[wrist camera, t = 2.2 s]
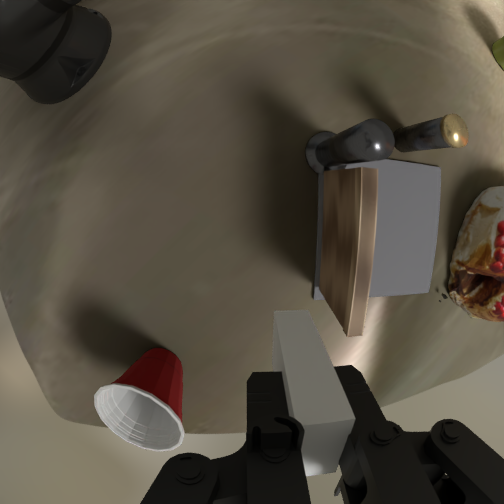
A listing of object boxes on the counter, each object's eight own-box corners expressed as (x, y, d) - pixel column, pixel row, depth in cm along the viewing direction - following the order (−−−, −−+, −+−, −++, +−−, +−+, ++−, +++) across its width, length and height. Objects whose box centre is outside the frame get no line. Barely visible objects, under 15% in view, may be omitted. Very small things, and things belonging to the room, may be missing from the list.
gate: (322, 171, 30) (361, 167, 19) (335, 171, 30) (378, 168, 19) (318, 289, 33) (347, 336, 22) (329, 289, 33) (362, 335, 22)
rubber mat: (318, 153, 30) (319, 153, 29) (439, 167, 30) (440, 167, 30) (313, 298, 34) (313, 300, 34) (427, 291, 34) (428, 292, 34)
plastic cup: (122, 323, 35) (82, 376, 23) (200, 337, 35) (183, 401, 23) (128, 383, 37) (101, 439, 25) (197, 397, 38) (185, 460, 26)
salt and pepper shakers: (304, 115, 29) (340, 77, 16) (412, 130, 29) (481, 115, 16) (305, 175, 30) (343, 171, 18) (413, 183, 31) (484, 189, 18)
